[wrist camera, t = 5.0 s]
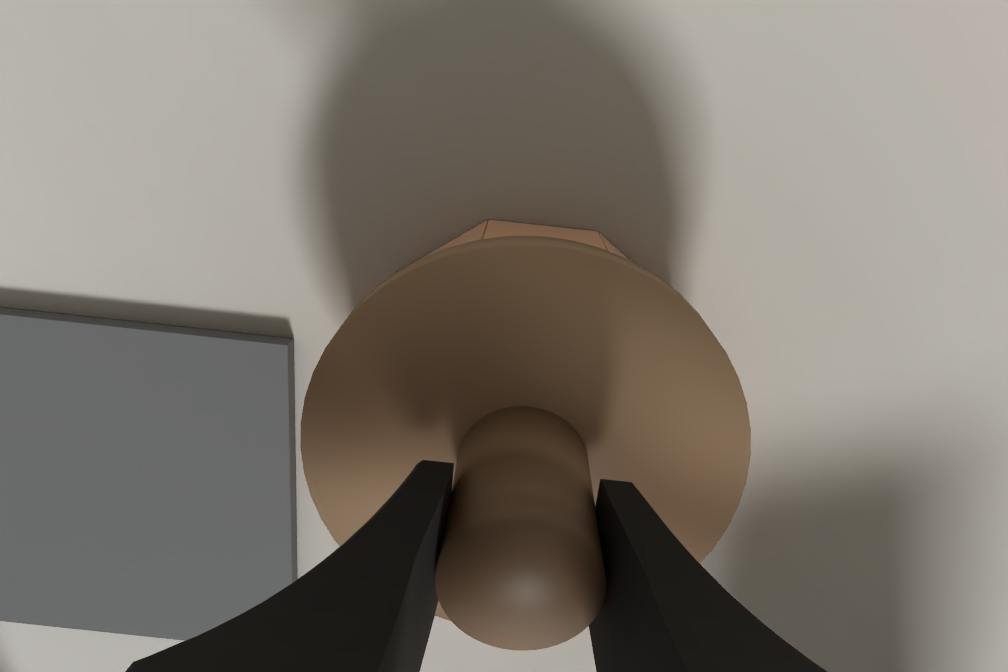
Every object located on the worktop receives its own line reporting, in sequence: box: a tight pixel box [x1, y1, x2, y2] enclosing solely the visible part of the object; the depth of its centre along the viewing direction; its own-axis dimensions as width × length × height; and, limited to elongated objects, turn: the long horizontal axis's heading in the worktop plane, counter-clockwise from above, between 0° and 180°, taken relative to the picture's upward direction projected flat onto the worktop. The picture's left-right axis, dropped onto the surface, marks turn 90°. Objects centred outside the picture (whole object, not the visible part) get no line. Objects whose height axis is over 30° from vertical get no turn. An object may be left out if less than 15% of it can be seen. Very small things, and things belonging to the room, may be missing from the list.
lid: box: [301, 236, 751, 650], centre depth 13 cm, size 10×10×4 cm
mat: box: [0, 307, 297, 640], centre depth 20 cm, size 11×11×1 cm
